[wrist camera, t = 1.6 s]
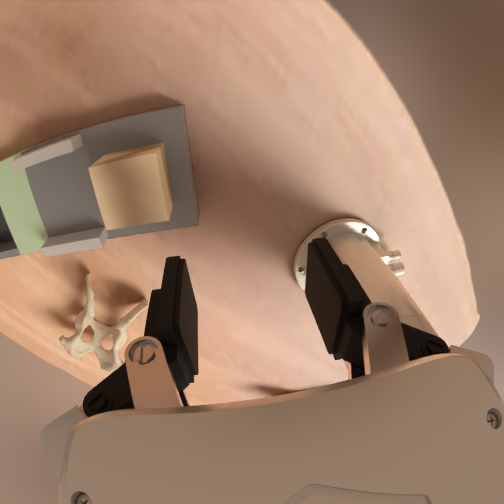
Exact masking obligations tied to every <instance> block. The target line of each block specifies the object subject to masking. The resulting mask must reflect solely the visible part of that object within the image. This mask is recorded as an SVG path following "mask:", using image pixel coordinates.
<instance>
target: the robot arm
mask: <svg viewBox="0 0 504 504" xmlns="http://www.w3.org/2000/svg"><path fill="white" fill-rule="evenodd" d="M400 259H401V253H400V251H398V250H396V251H391V252H387V253H386V252H385V251H383V249H382V248H381V243H380V239H379V237H378V235H377V233H376V232H375V231H374V230H373V229H372V228H371V227H370V226H369V225H368V224H367V223H365V222H363V221H361V220H358V219H352V218H343V219H337V220H333V221H330V222H328V223H326V224H324V225H322V226H320V227H319V228H317V229H316V230H314V231H313V232H312V233H311V234H310V235H309V236H308V237H307V238H306V239H305V240H304V241H303V243H302V244H301V245H300V247H299V249H298V251H297V253H296V256H295V259H294V267H293V268H294V275H295V278H296V280H297V283H298V284H299V286H300V288H301V289H302V290H303V291H304V292H305V294H306V298H307V300H308V303H309V305H310V308H311V310H312V313H313V315H314V318H315V320H316V323H317V325H318V328H319V330H320V333H321V335H322V338H323V341H324V343H325V346H326V348H327V351H328V353H329V354H333V356H334V359H335V360H338V359H342V358H343V360H344V362H345V365H346V367H347V369H348V380H346V381H342V382H339V383H335V384H330V385H326V386H322V387H318V388H313V389H309V390H304V391H299V392H294V393H289V394H283V395H278V396H272V397H266V398H260V399H253V400H245V401H238V402H230V403H221V404H210V405H198V406H190V404H189V402H188V399H187V396H186V394H185V391H184V389H185V388H186V387H187V386H188V385H189V383H194V375H198V311H197V304H196V300H195V296H194V292H193V289H192V285H191V281H190V277H189V273H188V269H187V264H186V260H185V259H181V258H180V256H174V257H167V258H166V262H165V268H164V274H163V280H162V286H161V289H156V290H152V293H151V297H150V303H149V308H148V314H147V320H146V326H145V332H144V337H139V338H137V339H135V340H133V341H132V342H131V343H130V344H129V345H128V346H127V348H126V350H125V363H124V364H123V365H121V366H120V367H119V368H118V369H116V370H115V371H114V372H113V373H112V374H110V375H109V376H108V377H107V378H105V379H104V380H103V381H102V382H100V383H99V384H98V385H97V386H95V387H94V388H93V389H92V390H91V391H89V392H88V393H87V395H86V396H85V398H84V400H83V405H82V406H80V407H79V406H78V405H76V406H75V407H73V408H72V409H70V410H69V411H67V412H66V413H64V414H63V415H61V416H60V417H58V418H57V419H55V420H54V421H52V422H51V423H49V424H48V425H46V426H45V427H44V428H43V429H42V431H41V433H40V442H41V445H42V447H43V450H44V452H45V454H46V456H47V458H48V460H49V462H50V465H51V467H52V469H53V471H54V473H55V475H56V477H57V478H58V480H59V504H504V403H503V401H502V399H501V397H500V395H499V393H498V392H497V390H496V389H495V386H494V366H493V362H492V360H491V359H490V358H489V357H488V356H487V355H485V354H482V353H479V352H475V351H471V350H468V349H464V348H460V347H457V346H454V345H451V346H450V347H448V346H447V344H446V343H445V341H444V340H442V339H441V338H440V337H439V336H438V334H437V333H436V331H435V330H434V329H433V327H432V326H431V324H430V323H429V321H428V320H427V318H426V317H425V315H424V314H423V313H422V311H421V310H420V308H419V307H418V305H417V304H416V303H415V301H414V300H413V298H412V297H411V296H410V294H409V293H408V292H407V290H406V289H405V288H404V286H403V285H402V283H401V282H400V281H399V280H398V278H397V277H396V276H400V275H403V274H404V265H403V263H402V262H398V263H392V264H389V265H387V262H389V261H397V260H400Z"/></svg>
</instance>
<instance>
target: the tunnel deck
mask: <svg viewBox="0 0 504 504" xmlns="http://www.w3.org/2000/svg"><path fill="white" fill-rule="evenodd" d="M157 143H164V149H165V155H166V161H167V167H168V173H169V178H170V184H171V189H172V194H173V199H174V203H173V207H172V211H171V215H170V219H169V221H162V222H156V223H149V224H143V225H137V226H130V227H124V228H119V229H113V230H106V227H105V224H104V221H103V218H102V215H101V212H100V208H99V205H98V202H97V198H96V195H95V191H94V188H93V184H92V180H91V177H90V173H89V169H88V168H89V167H90V166H91V165H92V164H94V163H95V162H96V161H97V160H98V159H100V158H101V157H102V156H103V155H106V154H110V153H115V152H119V151H123V150H128V149H132V148H137V147H142V146H147V145H152V144H157ZM198 225H199V208H198V202H197V196H196V189H195V183H194V176H193V169H192V162H191V155H190V148H189V141H188V133H187V125H186V117H185V109H184V105H179V106H173V107H167V108H162V109H156V110H151V111H147V112H142V113H137V114H133V115H129V116H125V117H121V118H117V119H113V120H109V121H105V122H102V123H98V124H95V125H91V126H88V127H85V128H82V129H78V130H75V131H72V132H69V133H66V134H63V135H61V136H58V137H55V138H52V139H50V140H47V141H44V142H42V143H39V144H37V145H34V146H32V147H29V148H27V149H25V150H22V151H20V152H18V153H15V154H13V155H11V156H9V157H7V158H5V159H2V160H0V259H3V258H8V257H13V256H18V255H22V254H27V253H32V252H37V251H42V252H43V254H44V257H49V256H55V255H61V254H66V253H72V252H79V251H85V250H91V249H97V248H103V246H104V244H105V242H106V240H107V239H111V238H117V237H123V236H130V235H136V234H143V233H149V232H156V231H163V230H170V229H177V228H184V227H191V226H198Z"/></svg>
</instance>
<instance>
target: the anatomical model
mask: <svg viewBox="0 0 504 504" xmlns="http://www.w3.org/2000/svg"><path fill="white" fill-rule="evenodd" d="M86 284H87V301H86V305H85V307H84V309H83V310H82V311H81V312H80V313H79V314H78V316H77V318H76V322H75V329H76V332H75V334H74V335H73V336H71V337H69V338H65V337H64V336H61V337H60V338H59V340H60V342H61V343H62V344H63V346H64V347H65V348H66V350H67V352H68V354H69V355H71V356H72V357H75V358H81V356H83V355H84V354H85V353H87V352H91V351H92V352H95V354H96V355H97V357H98V358H99V361H100V365H101V368H102V369H104V370H106V371H109V372H112V371H115V370H116V369H118V368H119V367H120V366H121V365H123V364H124V363H125V362H123V361H121V359H120V358H119V355H118V349H119V348H121V347H122V346H123V345H124V343H125V341H126V339H127V336H128V334H127V326H128V324H130V323H131V322H132V321H133V320H134V319H135V318H136V317H137V316H138V315H139V314H140V312H142V311H143V310H144V309H145V308H147V307H148V304H147V303H148V301H147V300H146V299H145V298H144V299H143V300H142V301H141V303H140V304H139V305H138V306H137V307H135V308H134V309H133V310H132V311H130V312H129V313H128V314H126V315H125V316H124V317H123V318H121V321H120V323H119V324H117V326H116V325H113V326H111V327H108V326H106V325H105V324H102V323H100V322H98V321H95V320H94V316H95V313H94V308H95V303H94V291H93V289H92V287H91V273H88V274H87V276H86ZM88 325H91V327H92V329H93V331H94V338H93V340H91V341H83V340H82V338H81V335H82V333H83V331H84V329H85V328H86V327H87V326H88ZM107 334H112V335H113V348H112V350H110V351H109V350H105V349H104V348H103V347H102V345H101V343H100V341H101V339H102V338H103V337H104V336H105V335H107Z"/></svg>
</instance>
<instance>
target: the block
mask: <svg viewBox="0 0 504 504" xmlns="http://www.w3.org/2000/svg"><path fill="white" fill-rule="evenodd" d="M88 169H89V173H90V177H91V180H92V184H93V188H94V191H95V195H96V198H97V202H98V205H99V208H100V212H101V215H102V218H103V221H104V224H105V227H106V230H113V229H119V228H124V227H130V226H137V225H143V224H149V223H156V222H162V221H169V219H170V215H171V211H172V207H173V203H174V199H173V194H172V189H171V184H170V178H169V173H168V167H167V161H166V155H165V149H164V143H157V144H152V145H147V146H142V147H137V148H132V149H128V150H123V151H119V152H115V153H110V154H106V155H103V156H102V157H101V158H100V159H98V160H97V161H96V162H95V163H94V164H92V165H91V166H90V167H89V168H88Z"/></svg>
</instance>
